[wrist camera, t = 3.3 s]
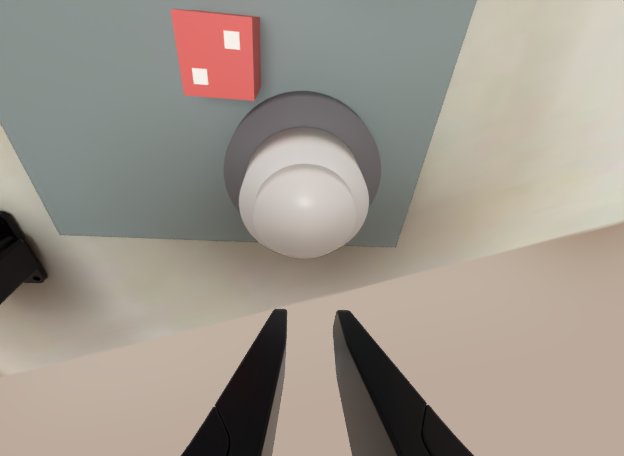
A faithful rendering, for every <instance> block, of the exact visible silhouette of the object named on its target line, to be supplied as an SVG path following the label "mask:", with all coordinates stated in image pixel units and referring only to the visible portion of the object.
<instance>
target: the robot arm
mask: <svg viewBox="0 0 624 456" xmlns="http://www.w3.org/2000/svg"><path fill="white" fill-rule="evenodd" d="M46 279H47V274H46V273H45V271H44V269H43V268H42V266H41V265H40V263H39V262H38V260H37V258H36V257H35V255H34V254H33V252H32V250H31V249H30V247H29V246H28V244H27V242H26V241H25V239H24V238H23V236H22V234H21V233H20V231H19V230H18V228H17V226H16V225H15V223H14V222H13V220H12V218H11V217H10V216H9V215H7V214H6V213H3V212H0V305H1V304H2V303H3V302H4V301H5V300H6V299H7V298H8V297H9V296H10V295H11V294H12V293H13V292H14V291H15V290H16V289H17V288H18V287H19V286H20V285H21V284H22V283H42V282H44V281H45V280H46ZM286 338H287V310H286V309H275V310H273V312H272V313H271V315H270V317H269V318H268V320H267V321H266V323H265V325H264V326H263V328H262V330H261V331H260V333H259V334H258V336H257V338H256V339H255V341H254V342H253V344H252V346H251V348H250V349H249V351H248V352H247V354H246V355H245V357H244V359H243V360H242V362H241V363H240V365H239V367H238V368H237V370H236V371H235V373H234V375H233V377H232V378H231V380H230V381H229V383H228V385H227V386H226V388H225V389H224V391H223V392H222V394H221V396H220V397H219V399H218V401H217V402H216V404H215V407H213V408H212V410H211V411H210V413H209V415H208V416H207V418H206V419H205V421H204V423H203V424H202V425H201V427H200V429H199V430H198V432H197V433H196V435H195V436H194V438H193V439H192V441H191V442H190V444H189V445H188V446H187V448H186V449H185V451H184V452H183V453H182V455H181V456H272V452H273V445H274V439H275V432H276V427H277V420H278V414H279V408H280V402H281V396H282V389H283V382H284V372H285V356H286ZM333 339H334V351H335V364H336V375H337V381H338V387H339V392H340V397H341V401H342V406H343V412H344V417H345V422H346V427H347V432H348V436H349V442H350V447H351V451H352V456H474V455H473V454H472V453H471V452H470V451H469V450H468V449H467V448H466V447H465V446H464V445H463V444H462V443H461V441H460V440H459V439H458V438H457V437H456V436H455V435H454V434H453V433H452V431H451V430H450V429H449V428H448V427H447V426H446V425H445V423H444V422H443V421H442V420H441V419H440V418H439V416H438V415H437V414H436V413H435V412H434V411H433V409H432V408H431V407H430V406H429V405H426V402H425V400H424V399H423V398H422V397H421V396H420V394H419V393H418V392H417V391H416V390H415V388H414V387H413V386H412V385H411V384H410V382H409V381H408V380H407V379H406V378H405V377H404V375H403V374H402V373H401V372H400V370H399V369H398V368H397V367H396V366H395V364H394V363H393V362H392V361H391V360H390V359H389V357H388V356H387V355H386V354H385V353H384V351H383V350H382V349H381V348H380V347H379V345H378V344H377V343H376V342H375V341H374V340H373V338H372V337H371V336H370V335H369V333H368V332H367V331H366V330H365V329H364V327H363V326H362V325H361V324H360V323H359V321H358V320H357V319H356V318H355V317H354V315H353V314H352V313H351V312H350V311H348V310H338V311H337V312H336V316H335V321H334V325H333Z"/></svg>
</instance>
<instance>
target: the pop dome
mask: <svg viewBox="0 0 624 456" xmlns="http://www.w3.org/2000/svg"><path fill="white" fill-rule="evenodd" d="M368 207H369V195H368V189H367V186H366V183H365V180H364V178H363V176H362V173H361V171H360V168H359V166H358V163H357V161H356V159H355V157H354V155H353V153H352V152H351V150H350V149H349V148H348V147H347V145H346V144H345V143H344V142H342V141H341V140H340V139H339V138H337V137H336V136H334V135H332V134H330V133H328V132H326V131H323V130H320V129H316V128H309V127H298V128H291V129H287V130H283V131H281V132H278V133H276V134H274V135H272V136H271V137H269V138H268V139H266V140H265V141H264V142H263V143H262V144H261V145H260V146H259V147H258V148H257V149H256V151H255V152H254V154H253V155H252V157H251V159H250V161H249V164H248V167H247V171H246V174H245V177H244V180H243V183H242V187H241V190H240V195H239V210H240V215H241V218H242V221H243V223H244V225H245V227H246V228H247V230H248V231H249V233H250V234H251V235H252V236H253V237H254V238H255V239H256V240H257V241H258V242H259V243H261V244H262V245H264V246H265V247H267V248H269V249H270V250H272V251H275V252H277V253H280V254H282V255H285V256H288V257H293V258H301V259H304V258H315V257H320V256H323V255H326V254H328V253H330V252H332V251H334V250H336V249H338V248H340V247H342V246H343V245H345V244H346V243H347V242H349V241H350V240H351V239H352V238H353V237H354V236H355V235H356V234H357V233H358V231H359V230H360V228H361V227H362V225H363V223H364V221H365V219H366V216H367V213H368Z"/></svg>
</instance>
